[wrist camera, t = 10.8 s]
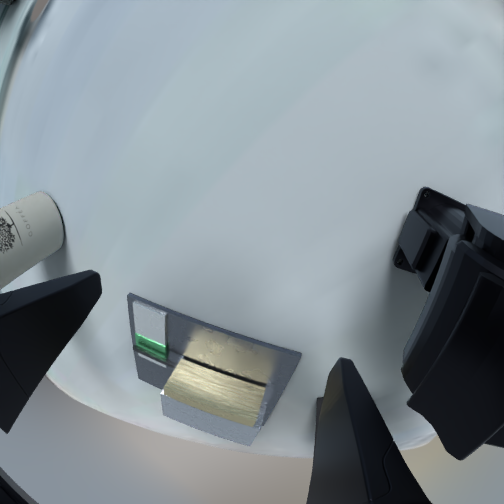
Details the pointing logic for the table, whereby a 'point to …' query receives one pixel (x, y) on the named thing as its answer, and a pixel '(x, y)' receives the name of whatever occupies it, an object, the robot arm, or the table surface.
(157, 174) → the table surface
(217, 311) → the table surface
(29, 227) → the travel mug
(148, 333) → the frame
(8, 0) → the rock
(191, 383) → the plate
